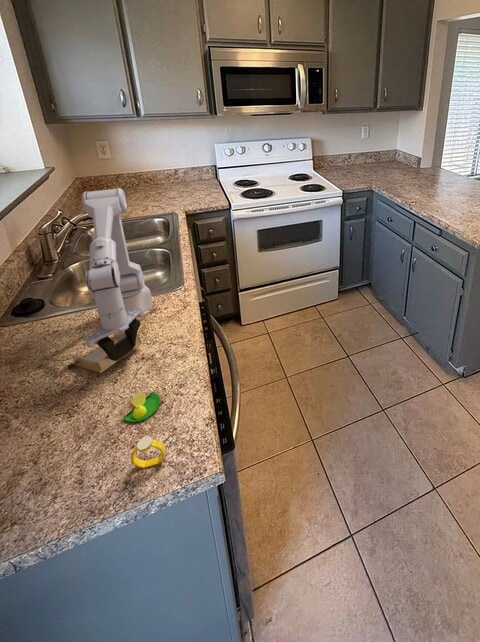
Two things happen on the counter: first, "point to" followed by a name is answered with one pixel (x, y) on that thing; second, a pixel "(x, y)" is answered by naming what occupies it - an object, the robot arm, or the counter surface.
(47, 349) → the counter surface
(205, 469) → the counter surface
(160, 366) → the counter surface
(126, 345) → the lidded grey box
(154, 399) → the green plate with lemons
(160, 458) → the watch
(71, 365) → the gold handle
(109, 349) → the robot arm
